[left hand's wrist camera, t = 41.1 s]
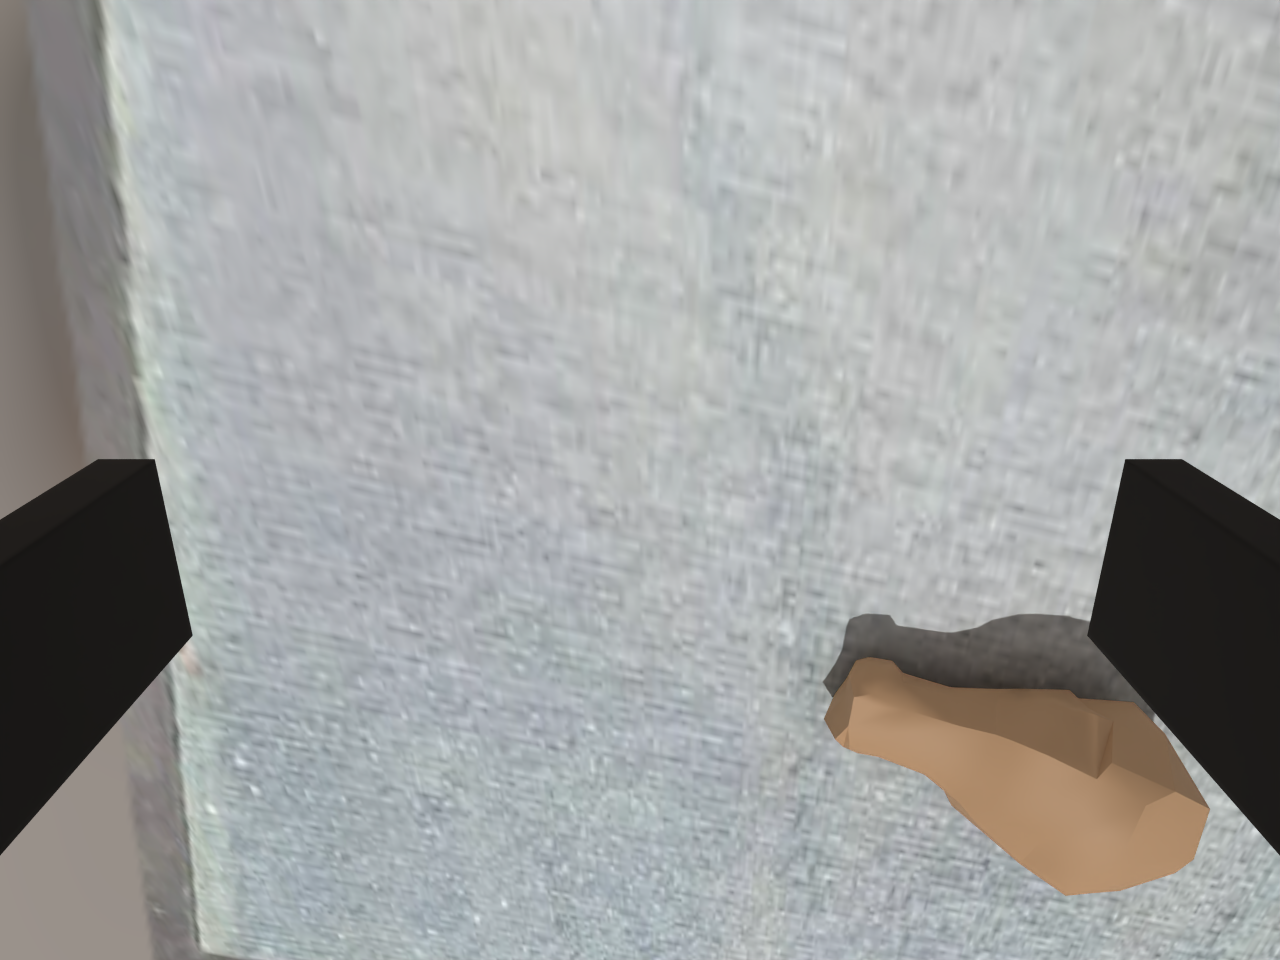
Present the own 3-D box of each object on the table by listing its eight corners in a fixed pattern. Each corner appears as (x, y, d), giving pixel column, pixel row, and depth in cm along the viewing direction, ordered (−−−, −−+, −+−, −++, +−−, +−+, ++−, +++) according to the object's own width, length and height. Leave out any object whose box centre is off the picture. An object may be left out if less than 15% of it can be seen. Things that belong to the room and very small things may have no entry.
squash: (1102, 824, 55) (1147, 961, 48) (798, 715, 55) (794, 834, 48) (1208, 705, 50) (1279, 838, 42) (871, 584, 50) (880, 695, 42)
